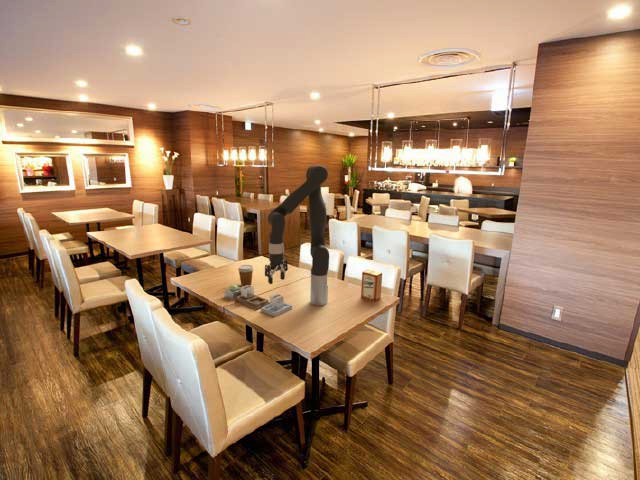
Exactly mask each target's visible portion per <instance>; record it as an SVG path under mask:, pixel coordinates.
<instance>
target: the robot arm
mask: <svg viewBox="0 0 640 480" xmlns="http://www.w3.org/2000/svg"><path fill="white" fill-rule="evenodd" d="M305 177H306V180H305V181H304V182H303V183H302V184H301V185H300V186H299V187H297V188H296V189H295V190H293V191H292V192H291V193H290V194H289V195H287V197H285V199H284V200H283V201H282V203H280V204H279V205H278V206H276V207H275V208H274V209H273V210H271V211H270V213H269V214H268V216H267V222H268V223H269V225H270V226H271V231H270V232H269V237H268V238H269V242H268V260H269V264H265V265H264V277H267V282H268V284H269V285H273V283H274V281H273V279H274V278H273V276H274V274H275V273H276V272H278V271H280V280H281V281H282V280H283V281H284V280H285V278H286V276H285V275H286V272H287V271H288V270H289V269H288V260H287V259H285V245H284V232H285V228H286V216H287V215H291V214H292V213H293V212H294V211H295V210H296V209H297V208H298V206H300V205H301V203H302V202H303V201H304V200H305V199H306V198H307V197H308V218H309V220H308V221H309V229H310V249H309V250H310V251H309V253H310V256H311V258H312V259H311V260H312V262H311V269H310V297H309V298H310V300H309V301H310V304H311V305H313V306H316V307H317V306H318V307H319V306H325V305H327V304H328V303H327V302H328V299H329V297H328V296H329V293H328V292H329V285H328V276H329V275H328V272H329V268H330V252H329V249H328V248H327V247H326V241H325V231H326V228H327V206H326V203H325V200H324V198H323V194H322V184H324V183H325V182H326V181H327V180H328V177H329V171H328V168H326V166H324V165H311V166H309V167H308V168H307V169H306V173H305Z"/></svg>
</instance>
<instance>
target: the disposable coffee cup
mask: <svg viewBox="0 0 640 480" xmlns="http://www.w3.org/2000/svg"><path fill="white" fill-rule="evenodd" d="M237 270H238V273H239V275H238V276H239V280H240V285H241V287H244V286H247V285H249V286H252V282H253V281H252V280H253V272H254V267H253V265H252V264H251V265H250V264H242V265H240V266H238V269H237Z"/></svg>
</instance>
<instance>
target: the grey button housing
mask: <svg viewBox="0 0 640 480" xmlns="http://www.w3.org/2000/svg"><path fill="white" fill-rule="evenodd" d="M237 288H238V290H237V291H231V287H228V288H226V289H224V298H226V299H228V300H231V301H234V302H235V299H237V297H238V296H240V295H241V287H239V286H237Z"/></svg>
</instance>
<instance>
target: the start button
mask: <svg viewBox="0 0 640 480" xmlns="http://www.w3.org/2000/svg"><path fill="white" fill-rule="evenodd" d="M237 287H238V285H237V284H232V285H231V287H230V288H231V291H237V290H238V288H237Z"/></svg>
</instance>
